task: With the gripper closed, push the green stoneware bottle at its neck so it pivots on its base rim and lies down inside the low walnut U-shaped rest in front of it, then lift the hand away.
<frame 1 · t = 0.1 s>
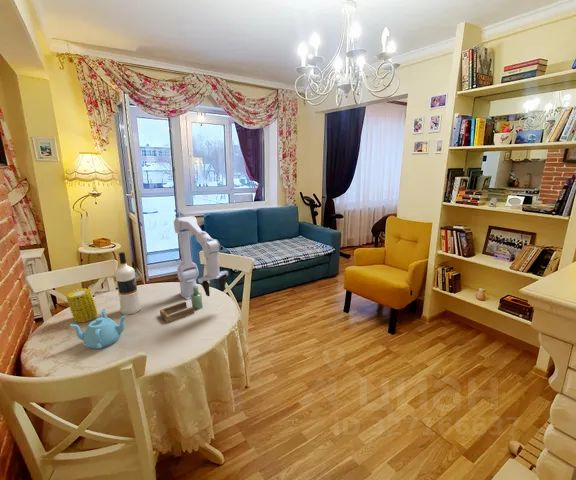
hand: (215, 293, 142), 10 cm above the table, tool pointing down, fingers open, 7 cm apart
food: (85, 319, 140), on the table
vodka: (131, 311, 147), on the table
green bottle: (197, 307, 150), on the table
u rest: (178, 314, 143), on the table
teapot: (104, 340, 123), on the table
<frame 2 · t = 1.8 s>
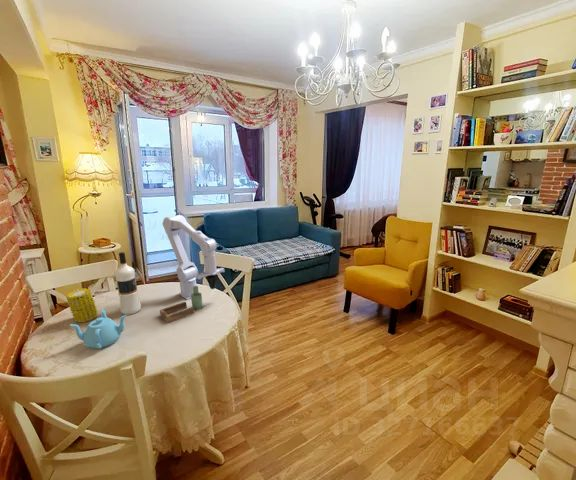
hand: (212, 288, 154), 7 cm above the table, tool pointing down, fingers closed
nothing on the table moved.
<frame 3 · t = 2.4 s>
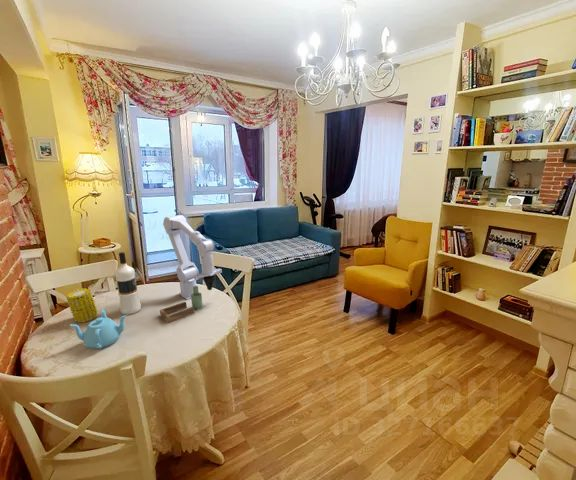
hand: (209, 289, 153), 7 cm above the table, tool pointing down, fingers closed
nothing on the table moved.
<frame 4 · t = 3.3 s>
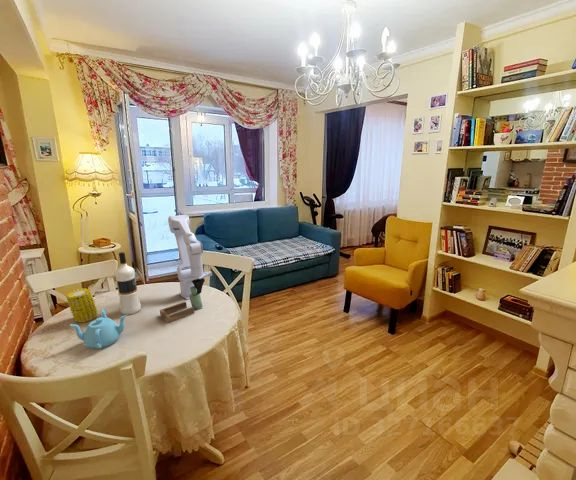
hand: (199, 292, 149), 7 cm above the table, tool pointing down, fingers closed, pressing on green bottle
green bottle: (197, 306, 150), on the table, tilted 7°, touching gripper
everything else where it was.
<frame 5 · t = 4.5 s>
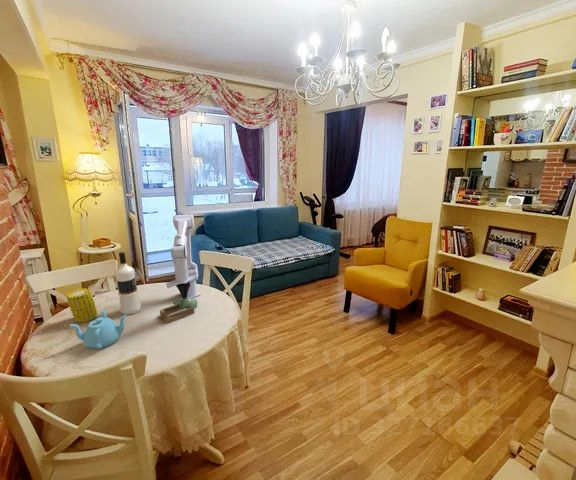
hand: (184, 297, 144), 7 cm above the table, tool pointing down, fingers closed
green bottle: (194, 304, 148), point 2 cm above the table, tilted 64°, touching gripper
everything else where it was.
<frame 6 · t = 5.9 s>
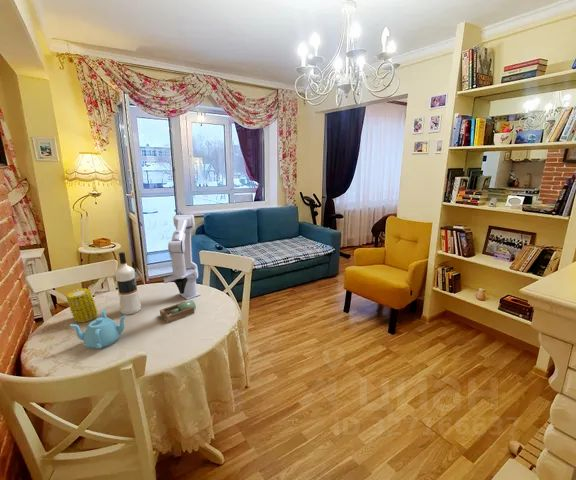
hand: (181, 292, 143), 10 cm above the table, tool pointing down, fingers closed
green bottle: (193, 305, 147), point 2 cm above the table, tilted 90°
everything else where it was.
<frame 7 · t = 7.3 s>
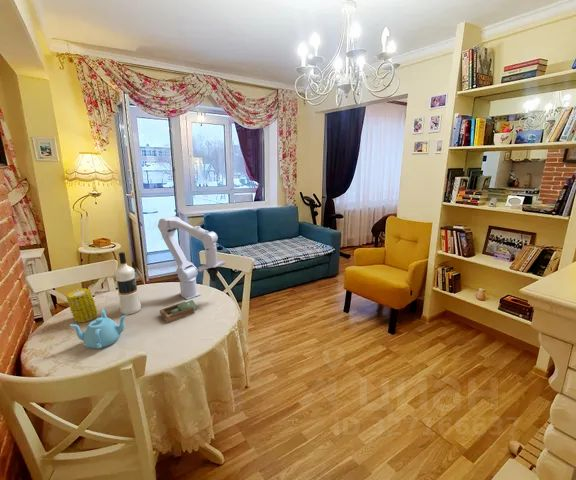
hand: (213, 280, 156), 10 cm above the table, tool pointing down, fingers closed
nothing on the table moved.
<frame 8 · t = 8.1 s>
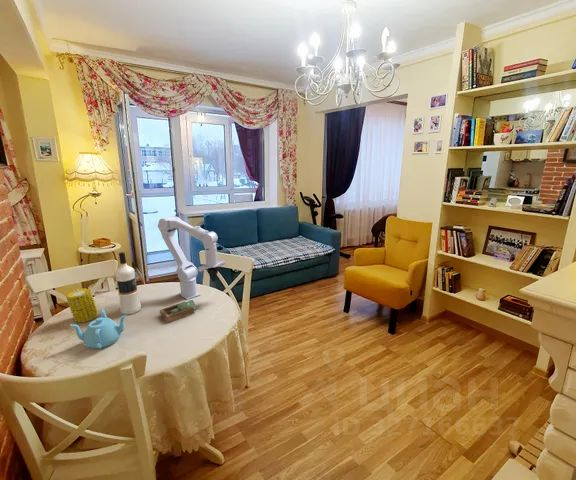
hand: (213, 280, 156), 10 cm above the table, tool pointing down, fingers closed
nothing on the table moved.
at the end: green bottle tilted 90°; green bottle inside the target area on the u rest (4.6 cm from its centre), point 2.4 cm above the u rest's base; the gripper is holding nothing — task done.
